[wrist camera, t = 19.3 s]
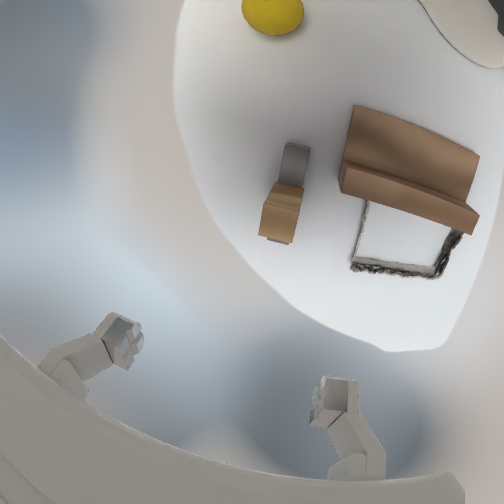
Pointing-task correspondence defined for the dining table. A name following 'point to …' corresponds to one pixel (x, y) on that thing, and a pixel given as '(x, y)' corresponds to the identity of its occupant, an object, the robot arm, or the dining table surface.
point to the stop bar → (408, 169)
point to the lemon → (273, 15)
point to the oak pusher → (285, 196)
